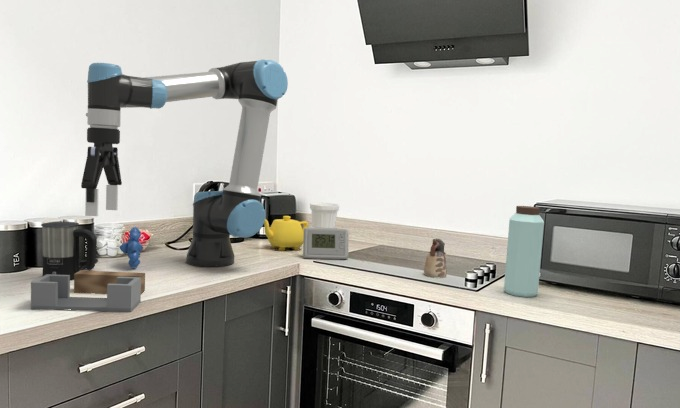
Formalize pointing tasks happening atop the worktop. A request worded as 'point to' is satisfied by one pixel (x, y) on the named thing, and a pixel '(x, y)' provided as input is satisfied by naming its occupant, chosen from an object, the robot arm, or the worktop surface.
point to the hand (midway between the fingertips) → (102, 212)
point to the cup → (324, 215)
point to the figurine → (436, 260)
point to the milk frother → (66, 248)
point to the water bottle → (524, 252)
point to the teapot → (285, 233)
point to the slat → (101, 280)
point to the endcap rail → (57, 296)
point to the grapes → (133, 247)
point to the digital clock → (325, 243)
